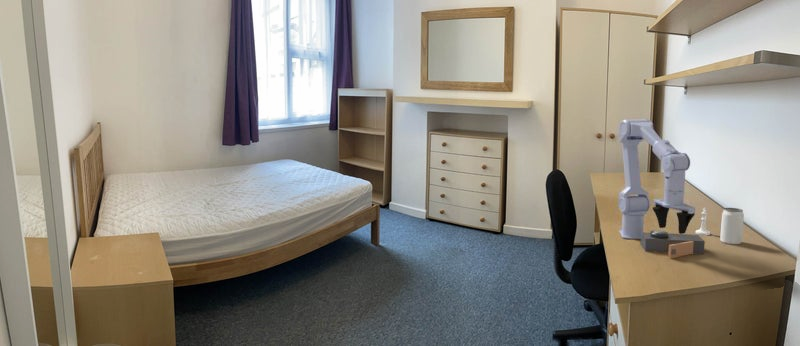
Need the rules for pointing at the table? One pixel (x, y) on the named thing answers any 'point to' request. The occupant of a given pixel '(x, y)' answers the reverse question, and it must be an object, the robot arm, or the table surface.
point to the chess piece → (703, 225)
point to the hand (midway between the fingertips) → (672, 230)
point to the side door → (680, 249)
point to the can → (732, 226)
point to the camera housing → (669, 241)
